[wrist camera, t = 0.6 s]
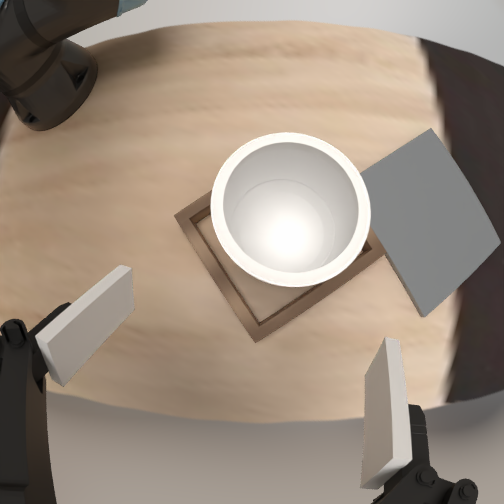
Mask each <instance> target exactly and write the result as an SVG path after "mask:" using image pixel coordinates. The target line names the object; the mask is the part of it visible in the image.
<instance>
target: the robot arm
mask: <svg viewBox="0 0 504 504" xmlns="http://www.w3.org/2000/svg"><path fill="white" fill-rule="evenodd" d="M146 1H147V0H0V92H2V93H3V94H4V95H5V96H7V98H8V100H9V102H10V103H11V105H12V107H13V109H14V111H15V113H16V115H17V116H18V118H19V120H20V121H21V122H22V123H23V124H25V125H26V126H28V127H29V128H31V129H33V130H37V131H41V130H47V129H50V128H52V127H54V126H56V125H58V124H60V123H61V122H63V121H64V120H66V119H67V118H68V117H69V116H71V115H72V114H73V113H74V112H75V111H76V110H77V109H78V108H79V107H80V105H81V104H82V103H83V102H84V100H85V99H86V98H87V96H88V95H89V93H90V91H91V89H92V87H93V85H94V83H95V80H96V76H97V64H96V61H95V59H94V58H93V56H92V55H91V54H90V52H89V51H88V50H86V49H85V48H83V47H82V46H79V45H78V44H76V43H74V42H72V41H70V40H68V39H66V38H68V37H70V36H72V35H75V34H77V33H79V32H81V31H83V30H85V29H87V28H90V27H92V26H94V25H97V24H99V23H101V22H104V21H106V20H109V19H111V18H113V17H119V16H121V15H122V13H125V12H127V11H130V10H132V9H134V8H137V7H140V6H141V5H143V4H145V3H146ZM134 310H135V308H134V295H133V281H132V268H130V267H126V266H123V265H119V266H118V267H116V268H115V269H114V270H113V271H111V272H110V273H109V274H108V275H106V276H105V277H104V278H103V279H101V280H100V281H99V282H98V283H97V284H95V285H94V286H93V287H92V288H90V289H89V290H88V291H87V292H86V293H84V294H83V295H82V296H81V297H80V298H78V299H77V300H76V301H75V302H74V303H72V304H71V303H69V302H68V303H65V304H63V305H61V306H59V307H57V308H56V309H55V310H54V311H53V312H52V313H50V314H49V315H48V316H47V317H46V318H44V319H43V320H42V321H41V322H40V323H39V324H37V325H36V326H35V327H34V328H33V329H32V330H30V331H29V332H27V329H26V326H25V324H24V322H23V321H22V320H19V319H11V320H8V321H6V322H5V323H4V324H3V325H2V326H1V328H0V331H1V334H2V336H1V335H0V504H57V503H56V497H55V491H54V486H53V479H52V472H51V463H50V454H49V444H48V431H47V412H46V378H45V374H46V373H47V372H48V371H49V374H50V376H51V378H52V380H54V381H55V382H57V383H58V384H60V385H62V386H63V387H64V386H65V385H66V383H67V382H68V381H69V380H70V379H71V378H72V377H73V376H74V375H75V373H76V372H77V371H78V370H79V369H80V368H81V367H82V366H83V365H84V363H85V362H86V361H87V360H88V359H89V358H90V357H91V356H92V355H93V354H94V352H95V351H96V350H97V349H98V348H99V347H100V346H101V345H102V344H103V343H104V342H105V340H106V339H107V338H108V337H109V336H110V335H111V334H112V333H113V332H114V331H115V330H116V329H117V328H118V327H119V326H120V324H121V323H122V322H123V321H124V320H125V319H126V318H127V317H128V316H129V315H130V314H131V313H132V312H133V311H134ZM426 434H427V430H426V421H425V415H424V413H423V411H422V409H421V407H420V406H419V405H411V404H408V399H407V390H406V382H405V375H404V368H403V361H402V354H401V348H400V342H399V340H397V339H392V338H388V337H385V338H384V340H383V342H382V344H381V346H380V348H379V350H378V352H377V354H376V356H375V358H374V359H373V361H372V363H371V365H370V367H369V369H368V371H367V372H366V374H365V416H364V444H363V460H362V473H361V485H360V488H366V489H379V488H380V487H381V486H382V485H384V492H383V493H382V494H381V495H379V496H378V497H377V498H376V499H374V500H373V503H371V504H476V500H477V497H478V489H477V486H476V485H475V483H474V482H473V481H471V480H469V479H461V480H459V481H458V482H457V483H452V482H450V481H447V480H444V479H441V478H439V477H438V475H437V472H436V471H435V469H433V467H431V466H430V461H429V449H428V439H427V435H426Z"/></svg>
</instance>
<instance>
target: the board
mask: <svg viewBox="0 0 504 504" xmlns="http://www.w3.org/2000/svg"><path fill="white" fill-rule="evenodd" d="M360 175H361V177H362V179H363V181H364V183H365V186H366V189H367V192H368V195H369V200H370V208H371V219H370V227H371V228H372V230H373V231H374V233H375V234H376V236H377V237H378V239H379V241H380V242H381V244H382V245H383V247H384V248H385V250H386V252H387V253H385V256H386V257H387V259H388V261H389V262H390V264H391V265H392V267H393V269H394V270H395V272H396V274H397V275H398V277H399V279H400V281H401V282H402V284H403V286H404V287H405V289H406V291H407V293H408V294H409V296H410V298H411V300H412V301H413V303H414V305H415V307H416V309H417V310H418V312H419V314H420V316H421V317H426V316H427V315H428V314H429V313H430V312H431V311H432V310H434V309H435V308H436V307H437V306H438V305H439V304H440V303H441V302H443V301H444V300H445V299H446V298H447V297H448V296H449V295H450V294H451V293H452V292H453V291H454V290H455V289H457V288H458V287H459V286H460V285H461V284H462V283H463V282H464V281H465V280H466V279H467V278H468V277H469V276H470V275H471V274H472V273H473V272H474V271H475V270H476V269H477V268H478V267H479V266H480V265H481V264H482V263H483V262H484V261H485V259H486V258H487V257H488V256H489V255H490V254H491V253H492V252H493V251H494V250H495V249H496V248H497V247H498V245H499V244H500V243H501V242H500V240H499V238H498V236H497V234H496V232H495V230H494V228H493V226H492V224H491V222H490V220H489V218H488V216H487V214H486V212H485V211H484V209H483V207H482V205H481V203H480V202H479V200H478V198H477V196H476V195H475V193H474V191H473V190H472V188H471V186H470V185H469V183H468V181H467V180H466V178H465V176H464V175H463V173H462V172H461V170H460V169H459V167H458V166H457V164H456V162H455V161H454V159H453V158H452V157H451V155H450V154H449V152H448V151H447V149H446V148H445V146H444V145H443V144H442V142H441V141H440V139H439V138H438V137H437V135H436V134H435V133H434V131H433V130H432V129H431V128H430V129H429V130H427V131H426V132H424V133H422V134H421V135H419V136H418V137H416V138H415V139H413V140H411V141H410V142H408V143H407V144H405V145H404V146H402V147H401V148H399V149H397V150H396V151H394V152H393V153H391V154H390V155H388V156H387V157H385V158H383V159H382V160H380V161H379V162H377V163H376V164H374V165H372V166H371V167H369V168H368V169H366V170H365V171H363V172H362V173H360Z"/></svg>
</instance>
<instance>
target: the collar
mask: <svg viewBox="0 0 504 504" xmlns="http://www.w3.org/2000/svg"><path fill="white" fill-rule="evenodd" d="M211 195H212V190H211V191H210V192H208V193H207V194H205V195H204V196H202V197H201V198H199V199H198V200H196V201H195V202H193V203H192V204H190V205H189V206H187V207H186V208H184V209H183V210H181V211H180V212H178V213H177V214H175V215H174V217H175V218H176V220H177V222H178V223H179V225H180V227H181V228H182V230H183V232H184V233H185V235H186V236H187V238H188V240H189V241H190V243H191V245H192V246H193V248H194V249H195V251H196V253H197V254H198V256H199V257H200V259H201V261H202V262H203V264H204V265H205V267H206V269H207V270H208V272H209V273H210V275H211V276H212V278H213V280H214V281H215V283H216V284H217V286H218V287H219V289H220V291H221V292H222V294H223V295H224V297H225V298H226V300H227V301H228V303H229V304H230V306H231V307H232V309H233V311H234V312H235V314H236V315H237V317H238V318H239V320H240V321H241V323H242V324H243V326H244V327H245V329H246V330H247V332H248V333H249V335H250V336H251V338H252V339H253V341H254V342H255V343H256V342H258V341H259V340H261V339H263V338H264V337H266V336H267V335H269V334H271V333H272V332H274V331H275V330H277V329H278V328H280V327H281V326H283V325H284V324H286V323H288V322H289V321H291V320H292V319H294V318H295V317H297V316H298V315H300V314H301V313H303V312H304V311H306V310H307V309H309V308H310V307H312V306H313V305H314V304H316V303H317V302H319V301H320V300H322V299H323V298H325V297H326V296H328V295H329V294H330V293H332V292H333V291H335V290H336V289H338V288H339V287H340V286H342V285H343V284H345V283H346V282H347V281H349V280H350V279H352V278H353V277H354V276H356V275H357V274H359V273H360V272H361V271H363V270H364V269H365V268H367V267H368V266H369V265H371V264H372V263H373V262H375V261H376V260H377V259H379V258H380V257H381V256H383V255H384V254H385V253H387V252H386V250H385V248H384V247H383V245H382V244H381V242H380V241H379V239H378V237H377V236H376V234H375V233H374V231H373V230H372V228H371V227H369V232H368V235H367V238H366V241H365V243H364V245H363V247H362V250H363V251H364V252H363V253H362V254H360V255H359V256H357V257H356V258H355V259H354V261H353V262H352V263H351V264H350V265H349V266H348V267H347V268H346V269H344V270H343V271H342V272H341V273H339V274H338V275H336V276H334V277H333V278H331V279H329V280H326V281H324V282H321V283H319V284H317V285H316V286H315V287H313V288H312V289H310V290H309V291H307V292H306V293H304V294H303V295H301V296H300V297H298V298H297V299H295V300H294V301H292V302H291V303H289V304H288V305H286V306H285V307H283V308H282V309H280V310H279V311H277V312H276V313H274V314H273V315H271V316H269V317H268V318H266V319H265V320H263V321H262V322H260V323H259V322H258V320H257V319H256V317H255V316H254V314H253V313H252V311H251V310H250V308H249V307H248V305H247V304H246V302H245V301H244V299H243V298H242V296H241V295H240V293H239V292H238V290H237V289H236V287H235V285H234V284H233V282H232V281H231V279H230V278H229V276H228V275H227V273H226V272H225V270H224V268H223V267H222V265H221V264H220V262H219V261H218V259H217V257H216V256H215V254H214V253H213V251H212V250H211V248H210V246H209V245H208V243H207V242H206V240H205V239H204V237H203V235H202V234H201V232H200V231H199V229H198V227H197V226H196V224H195V223H197V222H198V221H200V220H201V219H203V218H204V217H206V216H207V215H209V214H211Z"/></svg>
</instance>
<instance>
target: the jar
mask: <svg viewBox="0 0 504 504" xmlns="http://www.w3.org/2000/svg"><path fill="white" fill-rule="evenodd" d="M211 217H212V222H213V226H214V230H215V233H216V235H217V238H218V240H219V242H220V244H221V245H222V247H223V249H224V250H225V252H226V253H227V254H228V256H229V257H230V258H231V259H232V260H233V261H234V262H235V263H236V264H237V265H238V266H239V267H240V268H242V269H243V270H244V271H245V272H247V273H248V274H249V275H251V276H252V277H254V278H256V279H258V280H260V281H262V282H265V283H268V284H272V285H276V286H286V287H304V286H310V285H315V284H318V283H321V282H324V281H326V280H329V279H331V278H333V277H334V276H336V275H338V274H339V273H341V272H342V271H343V270H344V269H346V268H347V267H348V266H349V265H350V264H351V263H352V262H353V261H354V259H355V258H356V257H357V255H358V254H359V252H360V251H361V249H362V247H363V245H364V243H365V241H366V238H367V235H368V232H369V227H370V219H371V208H370V200H369V195H368V192H367V189H366V186H365V183H364V181H363V179H362V177H361V175H360V174H359V172H358V170H357V169H356V167H355V166H354V165H353V164H352V162H351V161H350V160H349V159H348V158H347V157H346V156H345V155H344V154H343V153H342V152H340V151H339V150H338V149H336V148H335V147H333V146H332V145H330V144H329V143H327V142H325V141H323V140H321V139H318V138H316V137H313V136H309V135H305V134H300V133H290V132H284V133H274V134H269V135H265V136H261V137H259V138H256V139H254V140H252V141H250V142H248V143H246V144H245V145H243V146H242V147H240V148H239V149H238V150H236V151H235V152H234V153H233V154H232V155H231V156H230V157H229V158H228V159H227V161H226V162H225V163H224V165H223V166H222V168H221V169H220V171H219V173H218V175H217V177H216V180H215V182H214V186H213V189H212V195H211Z"/></svg>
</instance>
